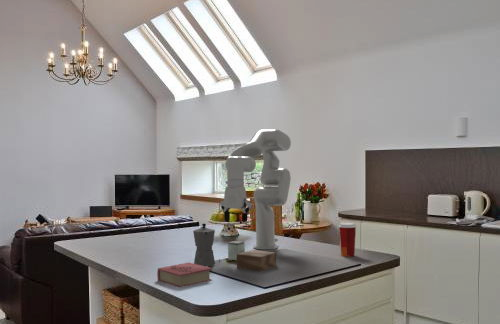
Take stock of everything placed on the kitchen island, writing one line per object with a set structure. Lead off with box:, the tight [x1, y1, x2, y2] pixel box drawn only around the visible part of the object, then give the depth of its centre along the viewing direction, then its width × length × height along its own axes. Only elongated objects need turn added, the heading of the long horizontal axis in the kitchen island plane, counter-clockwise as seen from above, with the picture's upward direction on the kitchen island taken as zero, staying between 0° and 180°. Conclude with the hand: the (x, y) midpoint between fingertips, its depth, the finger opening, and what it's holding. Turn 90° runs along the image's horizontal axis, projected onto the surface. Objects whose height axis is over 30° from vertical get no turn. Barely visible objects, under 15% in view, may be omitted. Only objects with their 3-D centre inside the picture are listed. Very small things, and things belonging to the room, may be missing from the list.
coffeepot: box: [193, 223, 216, 267], centre depth 202 cm, size 15×9×18 cm, turn 13°
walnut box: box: [236, 249, 277, 272], centre depth 197 cm, size 12×12×6 cm
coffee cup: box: [337, 222, 357, 258], centre depth 219 cm, size 8×8×15 cm
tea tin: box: [227, 240, 246, 262], centre depth 212 cm, size 5×5×8 cm
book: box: [156, 262, 213, 288], centre depth 175 cm, size 14×15×5 cm
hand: (235, 221), depth 212 cm, fingers open, 9 cm apart
